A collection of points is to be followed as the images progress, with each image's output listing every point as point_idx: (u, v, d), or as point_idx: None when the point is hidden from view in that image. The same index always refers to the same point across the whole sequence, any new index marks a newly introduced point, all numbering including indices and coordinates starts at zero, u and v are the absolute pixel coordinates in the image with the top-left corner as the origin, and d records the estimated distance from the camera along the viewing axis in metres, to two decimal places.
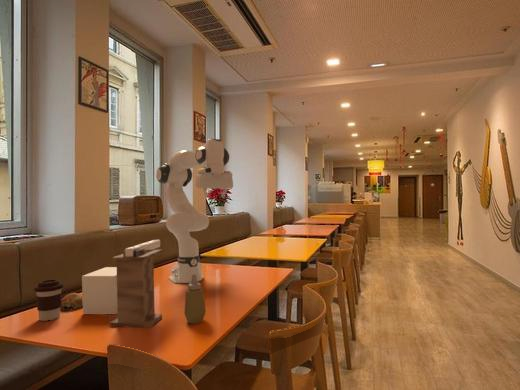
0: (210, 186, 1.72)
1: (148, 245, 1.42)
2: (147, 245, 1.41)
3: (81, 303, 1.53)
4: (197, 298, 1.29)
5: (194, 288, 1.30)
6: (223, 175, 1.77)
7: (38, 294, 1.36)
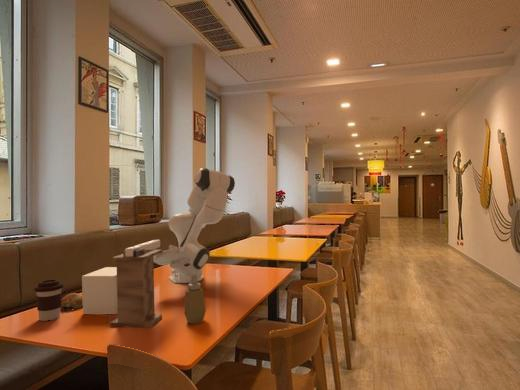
0: (174, 255, 1.64)
1: (148, 245, 1.42)
2: (147, 245, 1.41)
3: (81, 303, 1.53)
4: (197, 298, 1.29)
5: (194, 288, 1.30)
6: (168, 263, 1.70)
7: (38, 294, 1.36)
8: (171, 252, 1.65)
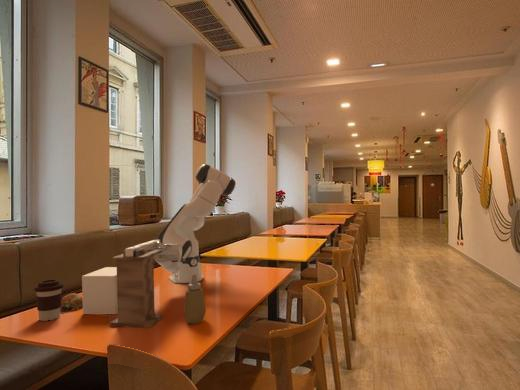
0: (165, 251, 1.53)
1: (148, 245, 1.42)
2: (147, 245, 1.41)
3: (80, 303, 1.52)
4: (197, 298, 1.29)
5: (194, 288, 1.30)
6: (153, 256, 1.59)
7: (38, 294, 1.36)
8: (161, 247, 1.55)
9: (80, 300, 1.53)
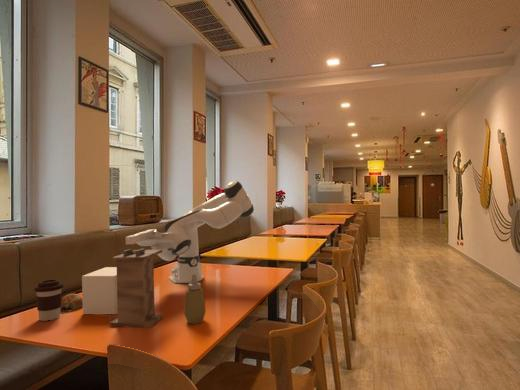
0: (161, 240, 1.64)
1: (146, 234, 1.52)
2: (145, 234, 1.51)
3: (80, 304, 1.52)
4: (197, 298, 1.29)
5: (194, 288, 1.30)
6: (150, 245, 1.69)
7: (38, 294, 1.36)
8: (157, 236, 1.65)
9: (79, 300, 1.52)
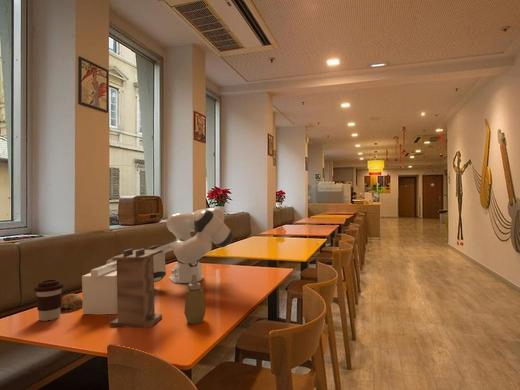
0: None
1: (115, 265, 1.54)
2: (114, 265, 1.53)
3: (79, 304, 1.52)
4: (197, 298, 1.29)
5: (194, 288, 1.30)
6: None
7: (38, 294, 1.36)
8: None
9: (79, 300, 1.52)
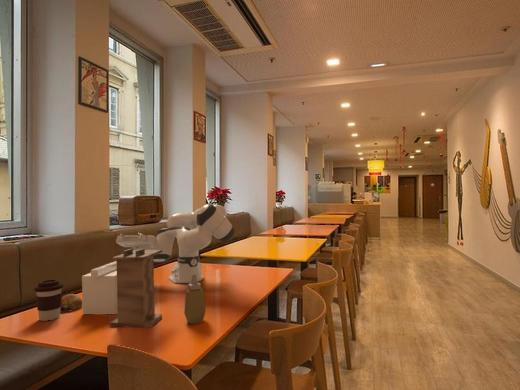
0: (141, 242, 1.76)
1: (115, 265, 1.54)
2: (114, 265, 1.53)
3: (79, 304, 1.51)
4: (197, 298, 1.29)
5: (194, 288, 1.30)
6: (131, 246, 1.81)
7: (38, 294, 1.36)
8: (138, 238, 1.77)
9: (78, 301, 1.52)
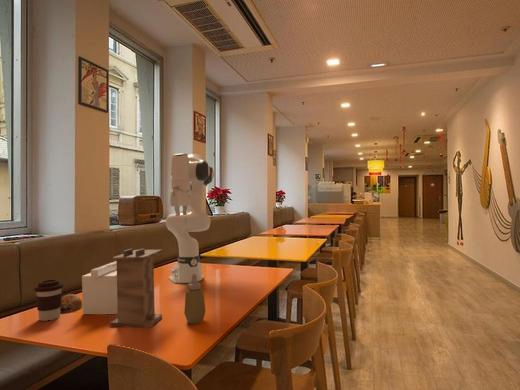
0: None
1: (115, 265, 1.54)
2: (114, 265, 1.53)
3: (78, 304, 1.51)
4: (197, 298, 1.29)
5: (194, 288, 1.30)
6: None
7: (38, 294, 1.36)
8: None
9: (78, 301, 1.51)
